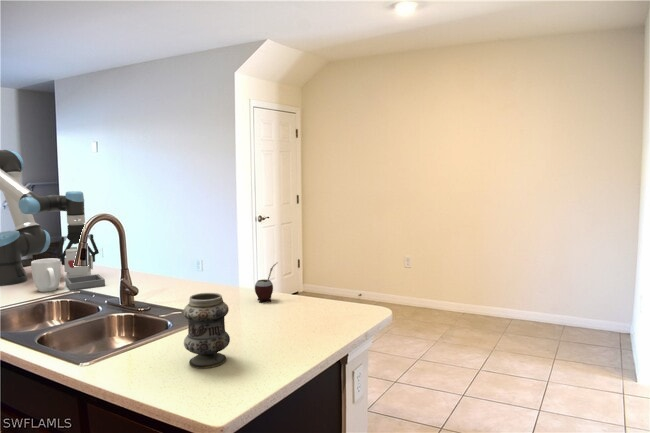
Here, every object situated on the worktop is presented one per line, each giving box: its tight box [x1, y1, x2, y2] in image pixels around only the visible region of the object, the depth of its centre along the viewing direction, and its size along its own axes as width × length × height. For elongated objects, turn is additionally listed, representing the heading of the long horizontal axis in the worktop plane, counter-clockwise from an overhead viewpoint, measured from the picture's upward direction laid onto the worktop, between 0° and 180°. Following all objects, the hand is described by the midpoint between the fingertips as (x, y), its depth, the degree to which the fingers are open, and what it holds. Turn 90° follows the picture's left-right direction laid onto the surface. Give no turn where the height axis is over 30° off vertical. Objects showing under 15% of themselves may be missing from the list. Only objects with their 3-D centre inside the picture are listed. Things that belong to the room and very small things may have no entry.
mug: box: [30, 257, 62, 293], centre depth 208 cm, size 15×11×13 cm
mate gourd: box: [254, 261, 278, 304], centre depth 189 cm, size 8×8×15 cm
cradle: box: [64, 273, 106, 292], centre depth 218 cm, size 14×14×3 cm
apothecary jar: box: [182, 292, 231, 369], centre depth 130 cm, size 12×12×18 cm
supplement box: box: [65, 246, 92, 278], centre depth 230 cm, size 9×9×15 cm
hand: (78, 270), depth 230 cm, fingers closed on supplement box, 10 cm apart
